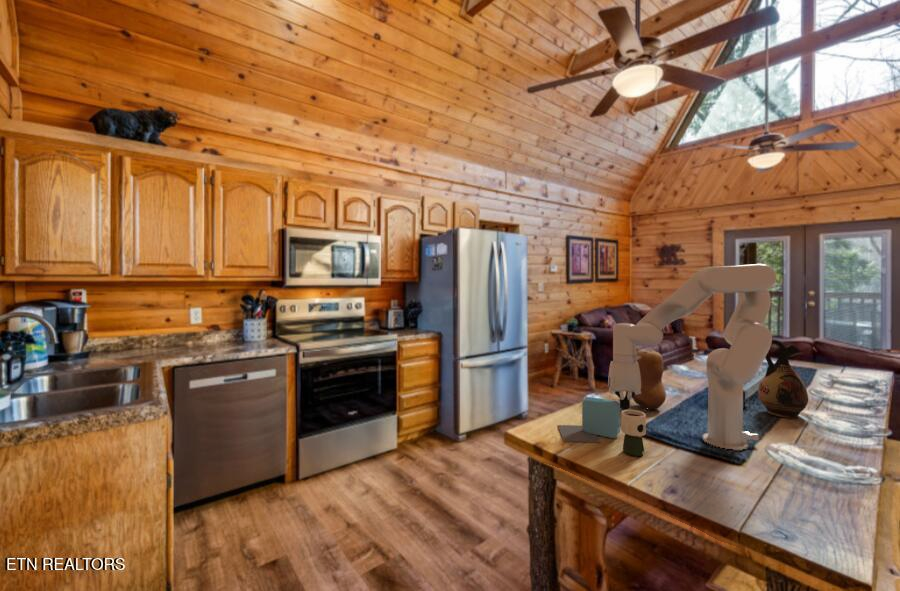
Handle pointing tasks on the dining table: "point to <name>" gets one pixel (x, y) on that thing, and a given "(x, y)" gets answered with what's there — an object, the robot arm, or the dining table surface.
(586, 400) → the data package
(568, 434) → the mat
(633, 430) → the character mug
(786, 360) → the ceramic jug
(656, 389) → the butternut squash
